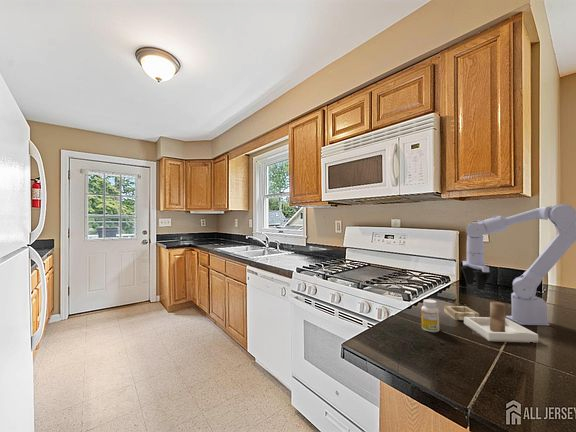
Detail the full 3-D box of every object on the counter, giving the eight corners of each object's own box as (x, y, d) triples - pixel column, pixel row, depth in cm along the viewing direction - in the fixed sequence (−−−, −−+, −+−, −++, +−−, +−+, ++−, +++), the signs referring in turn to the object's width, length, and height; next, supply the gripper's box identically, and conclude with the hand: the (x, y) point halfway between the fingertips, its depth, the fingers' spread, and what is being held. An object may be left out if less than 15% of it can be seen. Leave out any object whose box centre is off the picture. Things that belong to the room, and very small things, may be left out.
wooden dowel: (500, 328, 92) (500, 302, 92) (508, 333, 88) (508, 305, 88) (487, 328, 92) (487, 301, 92) (494, 332, 88) (494, 305, 88)
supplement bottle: (427, 325, 97) (426, 297, 97) (442, 330, 92) (442, 301, 92) (418, 328, 94) (418, 300, 94) (434, 333, 89) (433, 304, 89)
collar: (466, 312, 109) (466, 306, 109) (479, 320, 101) (479, 313, 101) (444, 312, 110) (444, 305, 110) (454, 319, 101) (454, 313, 101)
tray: (505, 324, 96) (505, 317, 96) (538, 342, 82) (538, 334, 82) (464, 323, 98) (463, 316, 98) (488, 341, 84) (488, 332, 84)
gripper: (455, 250, 116) (455, 282, 116) (475, 255, 102) (474, 291, 102) (472, 250, 116) (472, 282, 116) (495, 255, 101) (495, 291, 101)
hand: (474, 286), depth 109 cm, fingers open, 7 cm apart
